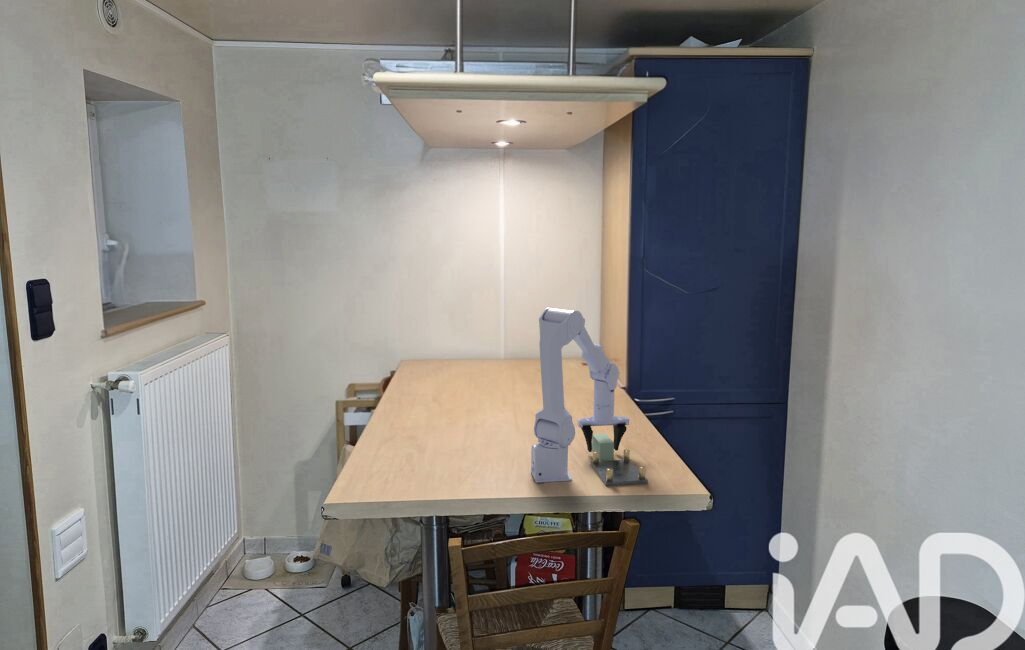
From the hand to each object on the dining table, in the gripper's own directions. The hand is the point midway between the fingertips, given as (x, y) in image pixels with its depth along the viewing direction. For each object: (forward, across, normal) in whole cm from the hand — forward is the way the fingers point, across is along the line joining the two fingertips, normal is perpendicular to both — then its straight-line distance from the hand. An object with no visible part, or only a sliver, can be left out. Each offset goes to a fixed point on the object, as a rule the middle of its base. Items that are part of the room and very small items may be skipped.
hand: (602, 450), depth 198 cm
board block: (+2, 0, 0) cm, 2 cm away
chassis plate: (+1, 0, +14) cm, 15 cm away
